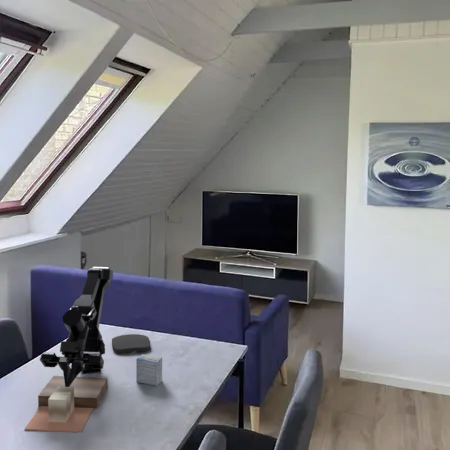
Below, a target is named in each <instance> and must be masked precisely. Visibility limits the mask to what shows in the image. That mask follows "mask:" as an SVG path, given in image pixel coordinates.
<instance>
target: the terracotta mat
mask: <svg viewBox="0 0 450 450" xmlns="http://www.w3.org/2000/svg"><path fill="white" fill-rule="evenodd" d="M93 411H94V409H93V408H80V407H74V410H73V412H72V414H71V415H70V417H69V418H68V420H67V422H66V423H62V422H49V410H48V406H41V407H39V408H38V410H37V411H36V413H34V415H33V417H32V418H31V419H30V420H29V422H28V423H27V425H26V426H25V427H24V431H37V432H63V433H82V432H83V429H84V428H85V426H86V424H87V422H88V420H89V418H90V416H91V414H92V412H93Z"/></svg>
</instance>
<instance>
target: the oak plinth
mask: <svg viewBox="0 0 450 450" xmlns="http://www.w3.org/2000/svg"><path fill="white" fill-rule="evenodd" d="M108 381H109V380H108V377H97V376H96V377H95V376H93V377H92V376H91V377H90V376H77V377H76V378H75V379H74V381H73V382H72V384H71V385H70V387H74V407H80V408H93V410H94V409H98V407H99V405H100V403H101V402H102V399H103V398H104V395H105V394H106V391H107V389H108V386H109V385H108V384H109V383H108ZM57 387H65V381H64V375H53V376H52V377H51V379H49V381H48V383H47V384H46V385H45V386H44V388H43V389H42V390H41V392H40V393H39V394H38V396H37V401H38V402H37V405H38V407H39V408H40V407H41V406H48V399H49V398H50V396H51V395H52V394H53V392H54V391H55V389H56V388H57Z"/></svg>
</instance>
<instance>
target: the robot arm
mask: <svg viewBox="0 0 450 450" xmlns="http://www.w3.org/2000/svg"><path fill="white" fill-rule="evenodd" d="M86 274H87V276H86V278H85V283H84V285H83V288H82V291H81V294H80V297H79V298H77V299H75V300H74V303H73V304H72V306H71V307H70V309H69V310H67V311H66V312H65V313H64V314H63V315H62V322H63V325H64V326H65V328H66V330H67V331H68V333H69V334H68V336H67V338H66V341H63V340H60V347H59V348H60V349H59V352H60V353H61V355H63V356H57V354H56V353H55V352H46V351H44V352H43V353H41V355H40V359H39V361H40V362H41V364H42V365H43V367H44V368H55V367H57V366H58V367H59V368H60V369H61V371H62V372H63V373H62V374H63V376H64V381H65V387H70V385H71V384H72V382H73V381H74V379H75V378H76V377H79V375H80V374H81V372H82V374H90V373H91V374H92V373H101V372H102V369H104V366H105V365H104V364H105V361H104V358H103V356H102V355H105V354H106V345H105V342H104V340H103V334H102V333H101V331H100V324H101V316H102V310H103V304H104V296H105V292H106V290H107V289H108V288H109V287H110V286H111V282H112V280H113V278H114V272H113V270H112V269H111V267H108V266H107V267H106V266H92V267H91V268H89V269H87V273H86Z"/></svg>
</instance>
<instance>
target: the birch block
mask: <svg viewBox="0 0 450 450" xmlns="http://www.w3.org/2000/svg"><path fill="white" fill-rule="evenodd" d="M48 410H49V422H62V423H66V422H67V420H68V418H69V417H70V415H71V414H72V412H73V410H74V387H57V388H56V389H55V391H54V392H53V394H52V395H51V396H50V398H49V399H48Z"/></svg>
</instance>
